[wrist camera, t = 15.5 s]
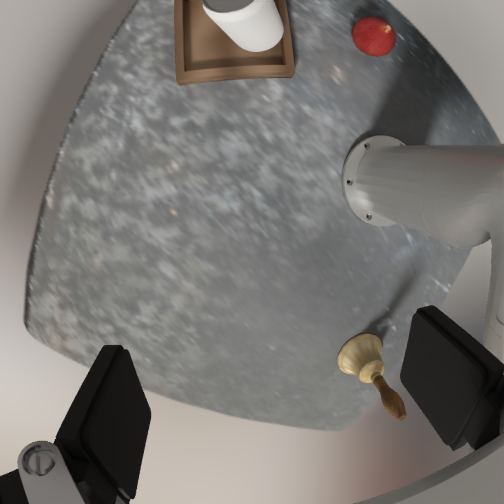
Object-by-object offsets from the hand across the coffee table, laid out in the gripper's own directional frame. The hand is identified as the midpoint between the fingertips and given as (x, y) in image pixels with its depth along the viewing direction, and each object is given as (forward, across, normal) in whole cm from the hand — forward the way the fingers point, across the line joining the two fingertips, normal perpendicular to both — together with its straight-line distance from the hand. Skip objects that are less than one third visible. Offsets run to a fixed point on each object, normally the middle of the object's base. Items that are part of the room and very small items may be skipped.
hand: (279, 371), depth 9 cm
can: (+29, -4, -23) cm, 37 cm away
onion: (+31, -19, -23) cm, 43 cm away
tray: (+30, -1, -24) cm, 39 cm away
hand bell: (+31, -18, +25) cm, 43 cm away
